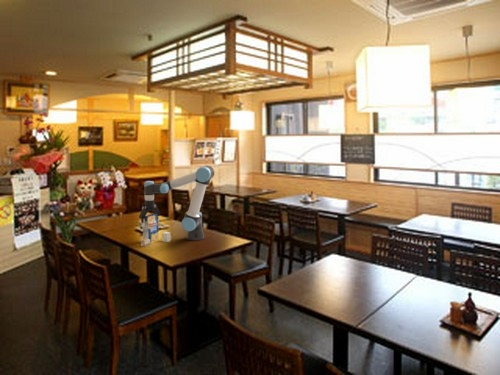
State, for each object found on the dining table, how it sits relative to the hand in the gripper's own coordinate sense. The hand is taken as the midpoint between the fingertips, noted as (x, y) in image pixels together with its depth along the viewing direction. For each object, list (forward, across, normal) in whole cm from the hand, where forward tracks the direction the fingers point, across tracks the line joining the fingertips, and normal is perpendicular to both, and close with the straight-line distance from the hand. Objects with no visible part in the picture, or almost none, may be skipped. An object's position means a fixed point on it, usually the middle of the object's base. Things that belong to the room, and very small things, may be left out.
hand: (150, 225), depth 305 cm
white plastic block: (+14, -8, +10) cm, 19 cm away
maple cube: (+14, +11, +7) cm, 19 cm away
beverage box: (+14, 0, 0) cm, 14 cm away
